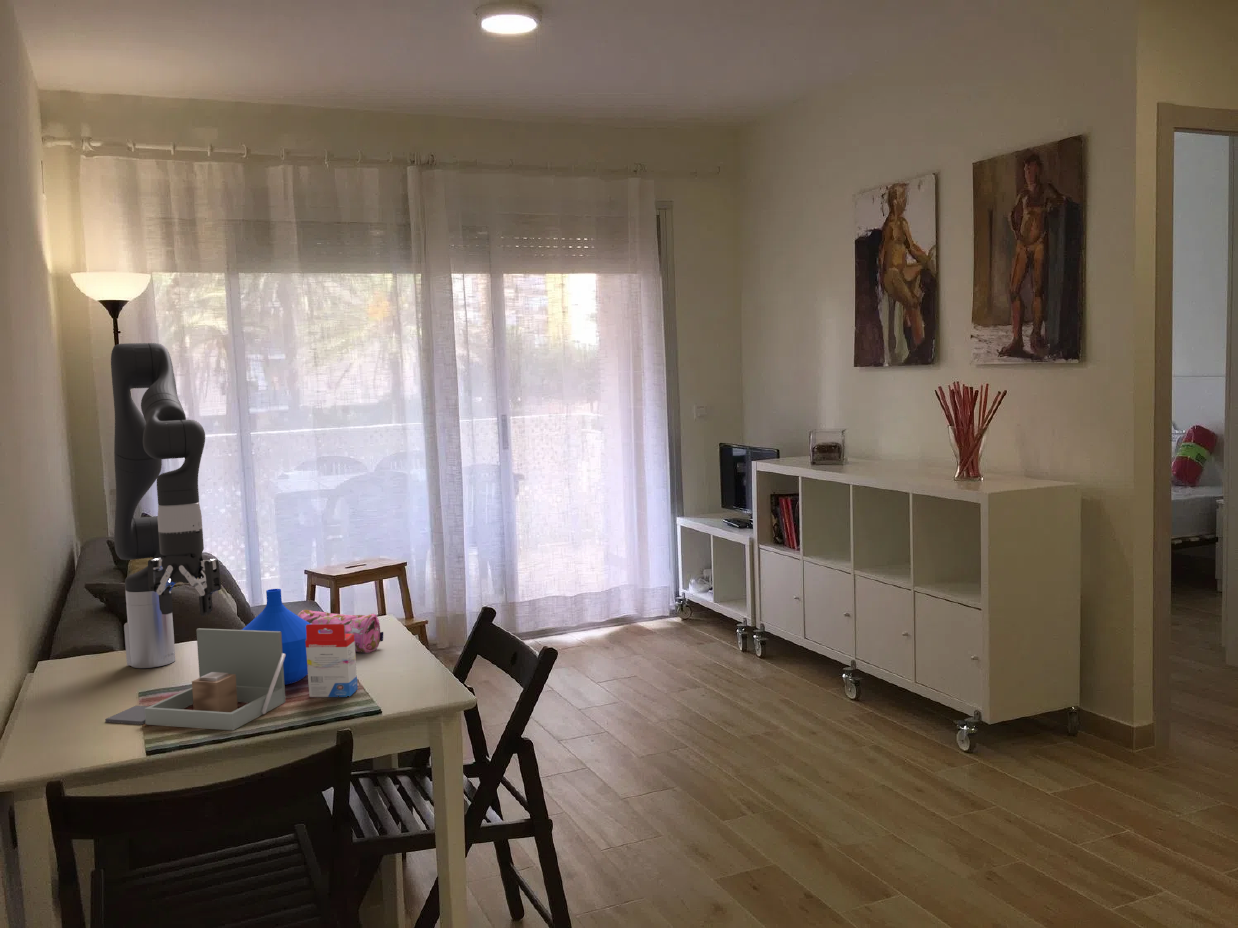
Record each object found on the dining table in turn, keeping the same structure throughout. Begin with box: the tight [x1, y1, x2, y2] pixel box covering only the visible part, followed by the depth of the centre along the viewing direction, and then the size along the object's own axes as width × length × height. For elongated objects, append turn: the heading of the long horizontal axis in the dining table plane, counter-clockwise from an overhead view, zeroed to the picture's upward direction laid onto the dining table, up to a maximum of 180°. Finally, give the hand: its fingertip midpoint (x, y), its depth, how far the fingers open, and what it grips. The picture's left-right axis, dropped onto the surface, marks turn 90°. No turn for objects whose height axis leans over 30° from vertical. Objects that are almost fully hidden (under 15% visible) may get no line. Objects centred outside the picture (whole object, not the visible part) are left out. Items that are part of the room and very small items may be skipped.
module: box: [191, 672, 239, 712], centre depth 193 cm, size 6×6×8 cm
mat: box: [104, 705, 150, 725], centre depth 194 cm, size 8×8×1 cm
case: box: [145, 627, 286, 731], centre depth 193 cm, size 19×16×14 cm
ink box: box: [305, 624, 359, 698], centre depth 203 cm, size 8×5×15 cm, turn 84°
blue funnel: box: [241, 588, 320, 685], centre depth 214 cm, size 18×18×19 cm
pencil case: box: [296, 609, 384, 654], centre depth 239 cm, size 21×9×9 cm, turn 70°
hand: (186, 614), depth 191 cm, fingers open, 8 cm apart
